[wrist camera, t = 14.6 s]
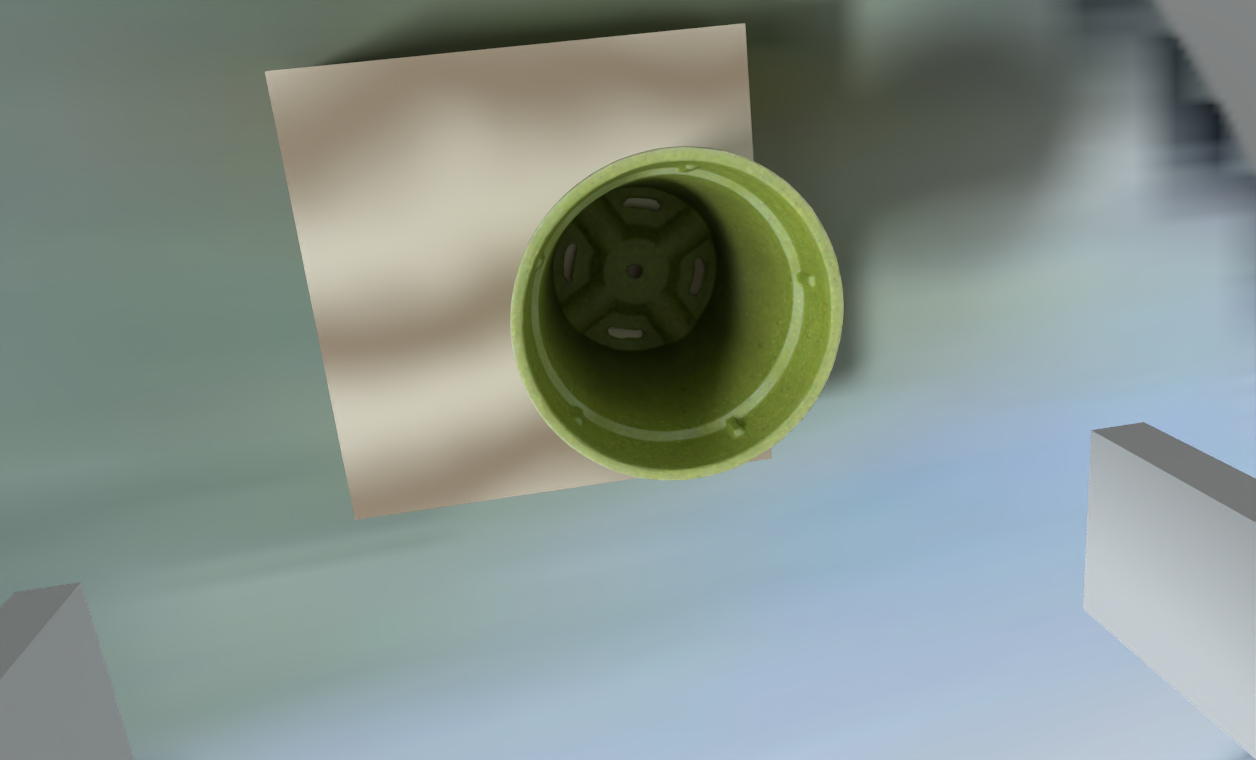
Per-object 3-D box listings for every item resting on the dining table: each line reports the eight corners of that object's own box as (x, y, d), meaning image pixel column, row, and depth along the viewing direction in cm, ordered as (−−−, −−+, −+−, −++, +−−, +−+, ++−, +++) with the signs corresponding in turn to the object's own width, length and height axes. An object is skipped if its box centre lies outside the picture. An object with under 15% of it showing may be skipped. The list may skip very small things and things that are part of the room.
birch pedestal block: (294, 74, 36) (265, 71, 31) (713, 32, 38) (745, 23, 33) (370, 470, 41) (355, 519, 36) (740, 417, 42) (771, 458, 38)
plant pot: (779, 147, 34) (870, 163, 26) (745, 400, 37) (818, 487, 29) (514, 121, 33) (522, 129, 25) (497, 386, 35) (499, 475, 27)
